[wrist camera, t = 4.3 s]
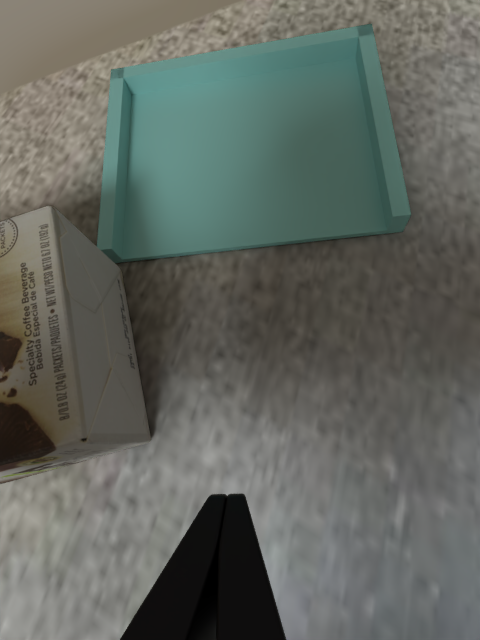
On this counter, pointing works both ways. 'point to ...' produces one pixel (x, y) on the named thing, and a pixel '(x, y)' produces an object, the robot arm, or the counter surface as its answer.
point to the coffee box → (63, 350)
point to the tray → (250, 149)
